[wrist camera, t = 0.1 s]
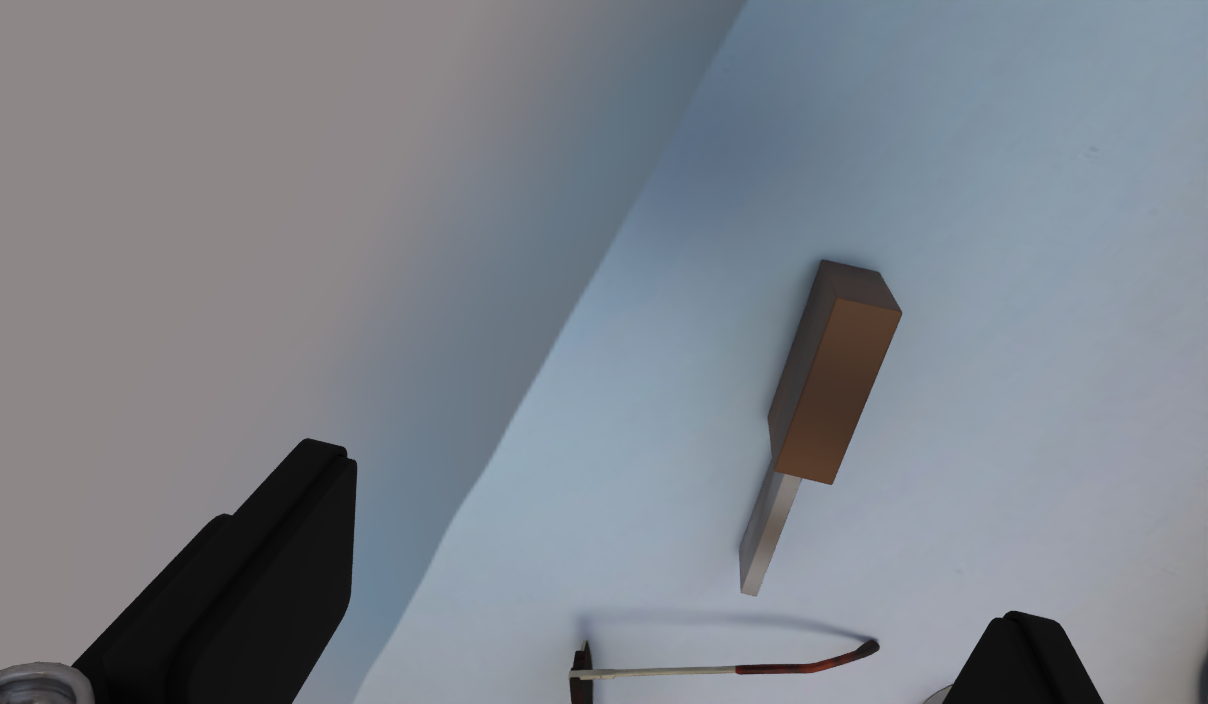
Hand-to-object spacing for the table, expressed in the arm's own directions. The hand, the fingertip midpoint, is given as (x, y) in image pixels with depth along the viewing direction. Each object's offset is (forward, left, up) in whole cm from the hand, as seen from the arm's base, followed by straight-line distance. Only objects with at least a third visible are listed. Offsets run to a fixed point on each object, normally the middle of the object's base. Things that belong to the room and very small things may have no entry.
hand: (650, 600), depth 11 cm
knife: (+9, +7, -23) cm, 25 cm away
